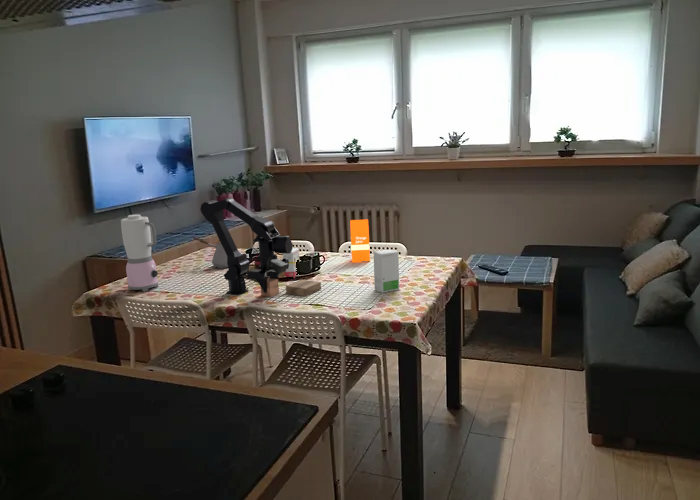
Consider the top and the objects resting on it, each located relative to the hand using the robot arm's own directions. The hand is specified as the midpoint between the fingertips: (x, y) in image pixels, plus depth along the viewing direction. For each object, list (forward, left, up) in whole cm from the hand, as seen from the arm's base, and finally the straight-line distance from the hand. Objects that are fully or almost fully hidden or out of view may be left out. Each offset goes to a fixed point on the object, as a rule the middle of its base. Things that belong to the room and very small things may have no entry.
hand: (269, 290), depth 223 cm
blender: (-57, -15, -2) cm, 59 cm away
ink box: (-10, +27, -2) cm, 29 cm away
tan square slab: (+10, +9, -2) cm, 14 cm away
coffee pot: (-58, +26, -2) cm, 64 cm away
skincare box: (+40, +24, -2) cm, 47 cm away
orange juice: (+4, +63, -2) cm, 63 cm away
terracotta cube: (0, 0, -2) cm, 2 cm away
